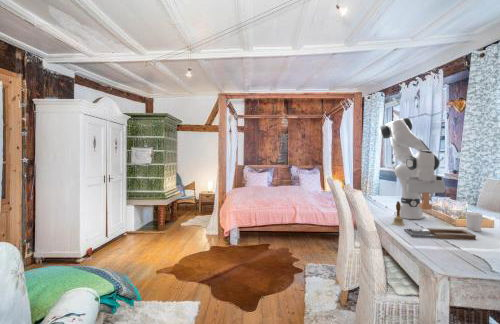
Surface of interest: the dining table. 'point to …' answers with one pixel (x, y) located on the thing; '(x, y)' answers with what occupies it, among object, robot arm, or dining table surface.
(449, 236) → the slot board
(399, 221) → the hand bell
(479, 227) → the white cup
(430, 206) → the stepped wedge block
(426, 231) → the light grey block
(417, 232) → the grey square block
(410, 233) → the tray
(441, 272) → the dining table surface
